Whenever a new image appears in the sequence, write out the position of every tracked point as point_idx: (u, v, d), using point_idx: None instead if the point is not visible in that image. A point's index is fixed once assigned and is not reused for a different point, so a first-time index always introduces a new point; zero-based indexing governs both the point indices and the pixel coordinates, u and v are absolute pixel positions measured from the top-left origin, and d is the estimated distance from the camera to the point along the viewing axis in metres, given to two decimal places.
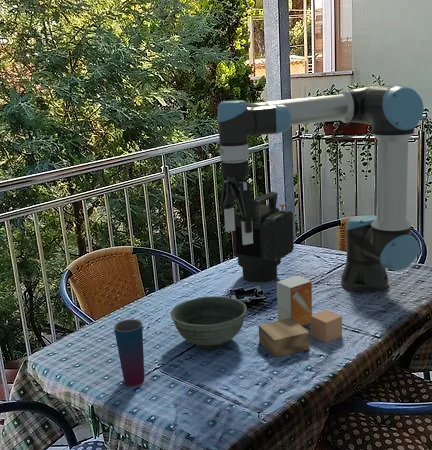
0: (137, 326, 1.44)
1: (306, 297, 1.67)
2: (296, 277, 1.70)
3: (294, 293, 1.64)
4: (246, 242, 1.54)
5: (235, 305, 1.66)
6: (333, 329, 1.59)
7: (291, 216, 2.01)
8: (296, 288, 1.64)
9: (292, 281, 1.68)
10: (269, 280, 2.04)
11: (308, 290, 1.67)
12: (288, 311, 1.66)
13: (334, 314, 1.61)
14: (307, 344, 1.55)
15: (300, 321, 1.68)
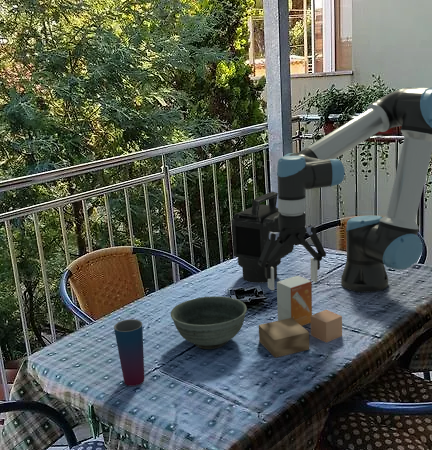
0: (137, 326, 1.44)
1: (306, 297, 1.67)
2: (296, 277, 1.70)
3: (294, 293, 1.64)
4: (269, 286, 1.66)
5: (235, 305, 1.66)
6: (333, 329, 1.59)
7: None
8: (296, 288, 1.64)
9: (292, 281, 1.68)
10: None
11: (308, 290, 1.67)
12: (288, 311, 1.66)
13: (334, 314, 1.61)
14: (307, 344, 1.55)
15: (300, 321, 1.68)
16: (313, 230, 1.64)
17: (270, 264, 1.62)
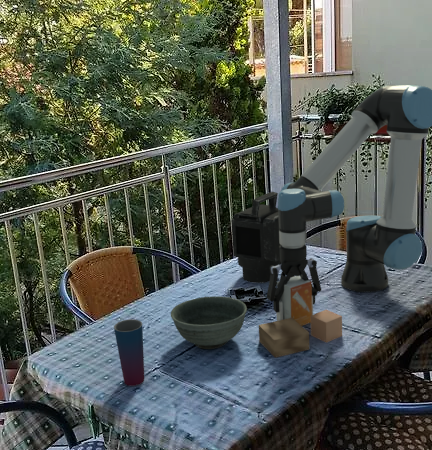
0: (137, 326, 1.44)
1: (306, 297, 1.67)
2: (296, 277, 1.70)
3: (294, 293, 1.64)
4: (277, 319, 1.70)
5: (235, 305, 1.66)
6: (333, 329, 1.59)
7: None
8: (296, 288, 1.64)
9: (292, 280, 1.68)
10: None
11: (308, 290, 1.67)
12: (288, 311, 1.66)
13: (334, 314, 1.61)
14: (307, 344, 1.55)
15: (300, 321, 1.68)
16: (314, 263, 1.67)
17: (278, 298, 1.66)
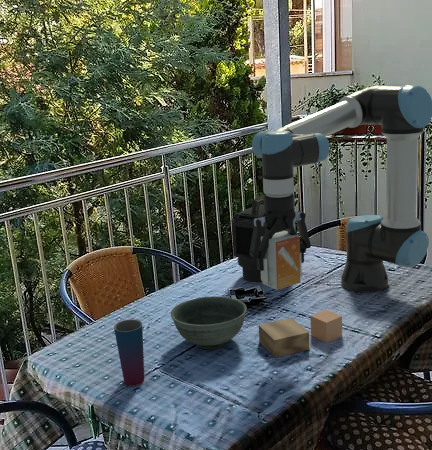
0: (137, 326, 1.44)
1: (294, 254, 1.50)
2: (283, 232, 1.53)
3: (279, 248, 1.47)
4: (262, 279, 1.52)
5: (235, 305, 1.66)
6: (333, 329, 1.59)
7: None
8: (282, 242, 1.47)
9: (278, 235, 1.50)
10: None
11: (296, 245, 1.50)
12: (273, 268, 1.48)
13: (334, 314, 1.61)
14: (307, 344, 1.55)
15: (287, 281, 1.50)
16: (302, 216, 1.50)
17: (262, 254, 1.48)
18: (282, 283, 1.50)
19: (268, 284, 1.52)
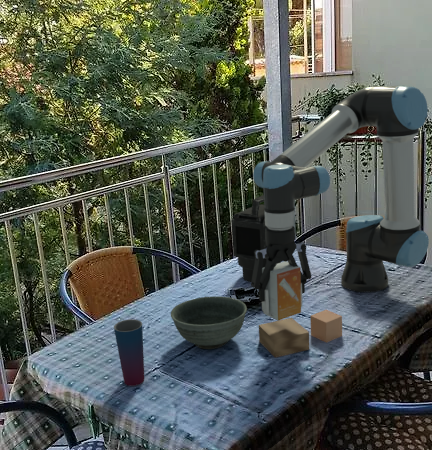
0: (137, 326, 1.44)
1: (295, 285, 1.52)
2: (284, 263, 1.55)
3: (280, 280, 1.49)
4: (263, 309, 1.54)
5: (235, 305, 1.66)
6: (333, 329, 1.59)
7: None
8: (283, 274, 1.49)
9: (279, 266, 1.53)
10: None
11: (297, 277, 1.52)
12: (274, 300, 1.51)
13: (334, 314, 1.61)
14: (307, 344, 1.55)
15: (287, 311, 1.53)
16: (303, 247, 1.52)
17: (264, 286, 1.50)
18: (283, 314, 1.52)
19: (269, 314, 1.54)
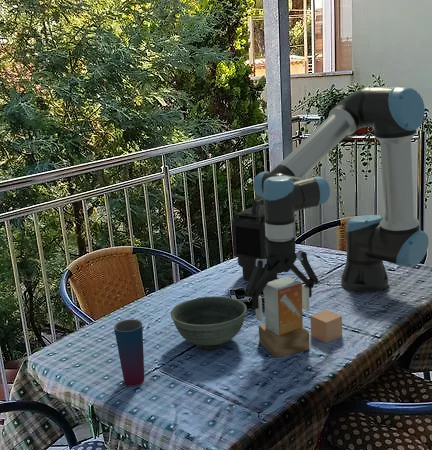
0: (137, 326, 1.44)
1: (296, 300, 1.53)
2: (286, 278, 1.56)
3: (281, 296, 1.50)
4: (257, 316, 1.54)
5: (235, 305, 1.66)
6: (333, 329, 1.59)
7: None
8: (284, 290, 1.50)
9: (281, 282, 1.54)
10: (269, 280, 2.04)
11: (298, 293, 1.53)
12: (276, 315, 1.52)
13: (334, 314, 1.61)
14: (307, 344, 1.55)
15: (289, 327, 1.54)
16: (303, 255, 1.52)
17: (257, 293, 1.50)
18: (285, 329, 1.53)
19: (271, 329, 1.55)
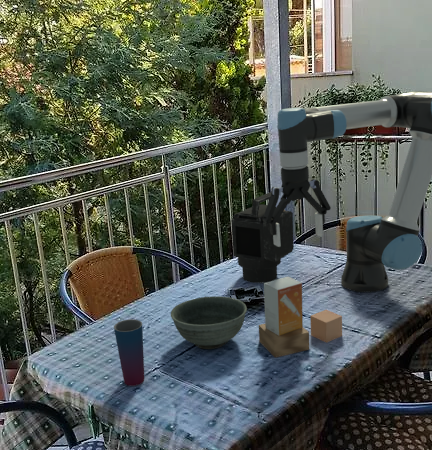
0: (137, 326, 1.44)
1: (296, 300, 1.53)
2: (286, 278, 1.56)
3: (281, 296, 1.50)
4: (274, 243, 1.64)
5: (235, 305, 1.66)
6: (333, 329, 1.59)
7: (291, 216, 2.01)
8: (284, 290, 1.50)
9: (281, 282, 1.54)
10: (269, 280, 2.04)
11: (298, 293, 1.53)
12: (276, 315, 1.52)
13: (334, 314, 1.61)
14: (307, 344, 1.55)
15: (289, 327, 1.54)
16: (316, 183, 1.62)
17: (275, 220, 1.60)
18: (285, 329, 1.53)
19: (271, 329, 1.55)
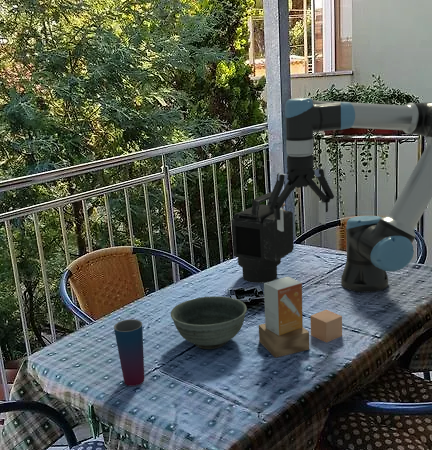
0: (137, 326, 1.44)
1: (296, 300, 1.53)
2: (286, 278, 1.56)
3: (281, 296, 1.50)
4: (278, 228, 1.69)
5: (235, 305, 1.66)
6: (333, 329, 1.59)
7: (291, 216, 2.01)
8: (284, 290, 1.50)
9: (281, 282, 1.54)
10: (269, 280, 2.04)
11: (298, 293, 1.53)
12: (276, 315, 1.52)
13: (334, 314, 1.61)
14: (307, 344, 1.55)
15: (289, 327, 1.54)
16: (321, 172, 1.68)
17: (279, 205, 1.66)
18: (285, 329, 1.53)
19: (271, 329, 1.55)
